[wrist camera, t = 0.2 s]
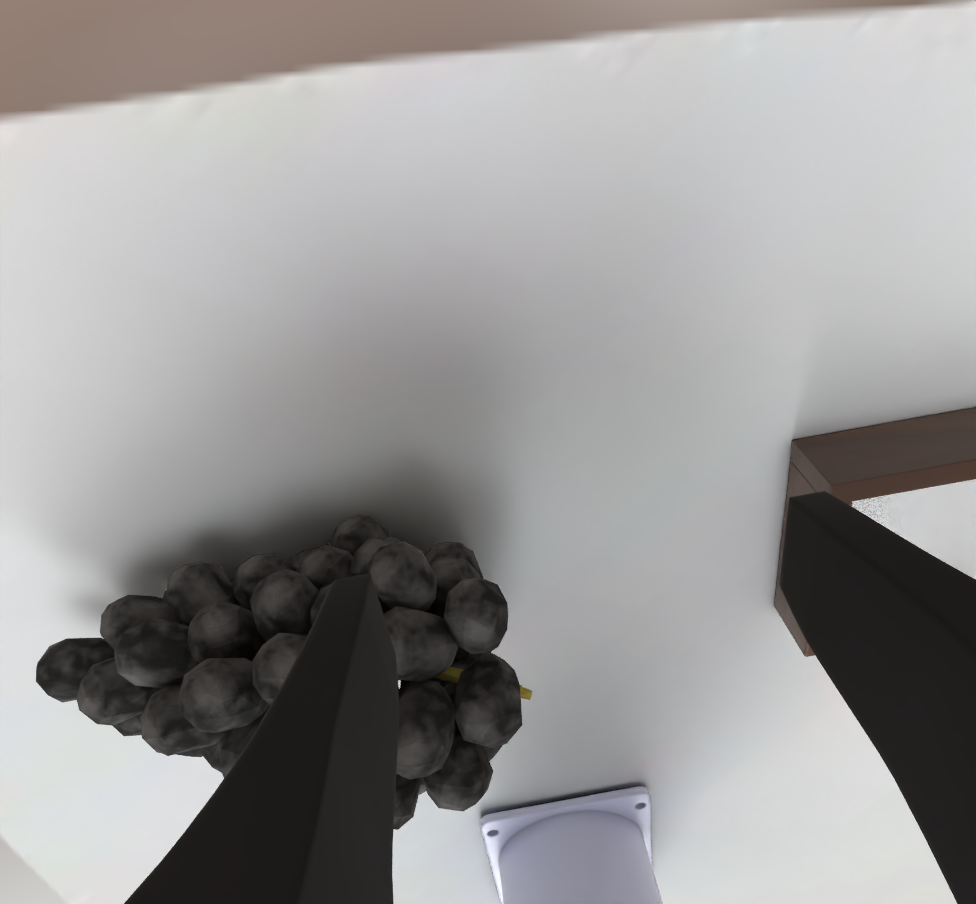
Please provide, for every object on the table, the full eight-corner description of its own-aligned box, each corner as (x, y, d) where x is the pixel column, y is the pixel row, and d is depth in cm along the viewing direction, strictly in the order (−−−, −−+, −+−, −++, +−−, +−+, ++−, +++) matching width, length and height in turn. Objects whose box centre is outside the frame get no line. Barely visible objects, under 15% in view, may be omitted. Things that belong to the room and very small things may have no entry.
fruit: (-42, 936, 18) (558, 873, 19) (-133, 636, 16) (546, 579, 17) (110, 723, 26) (520, 686, 27) (64, 508, 24) (509, 474, 25)
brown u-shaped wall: (1062, 553, 28) (1118, 600, 26) (772, 606, 28) (804, 658, 26) (1133, 378, 24) (1206, 417, 22) (791, 439, 24) (831, 485, 22)
